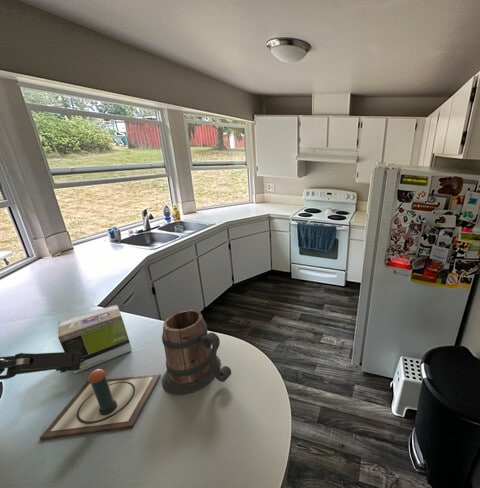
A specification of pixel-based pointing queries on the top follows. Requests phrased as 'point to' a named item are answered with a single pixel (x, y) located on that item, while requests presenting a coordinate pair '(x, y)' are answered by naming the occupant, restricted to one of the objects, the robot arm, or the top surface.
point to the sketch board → (87, 407)
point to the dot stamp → (102, 392)
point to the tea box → (95, 336)
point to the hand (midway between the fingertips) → (36, 372)
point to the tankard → (190, 354)
